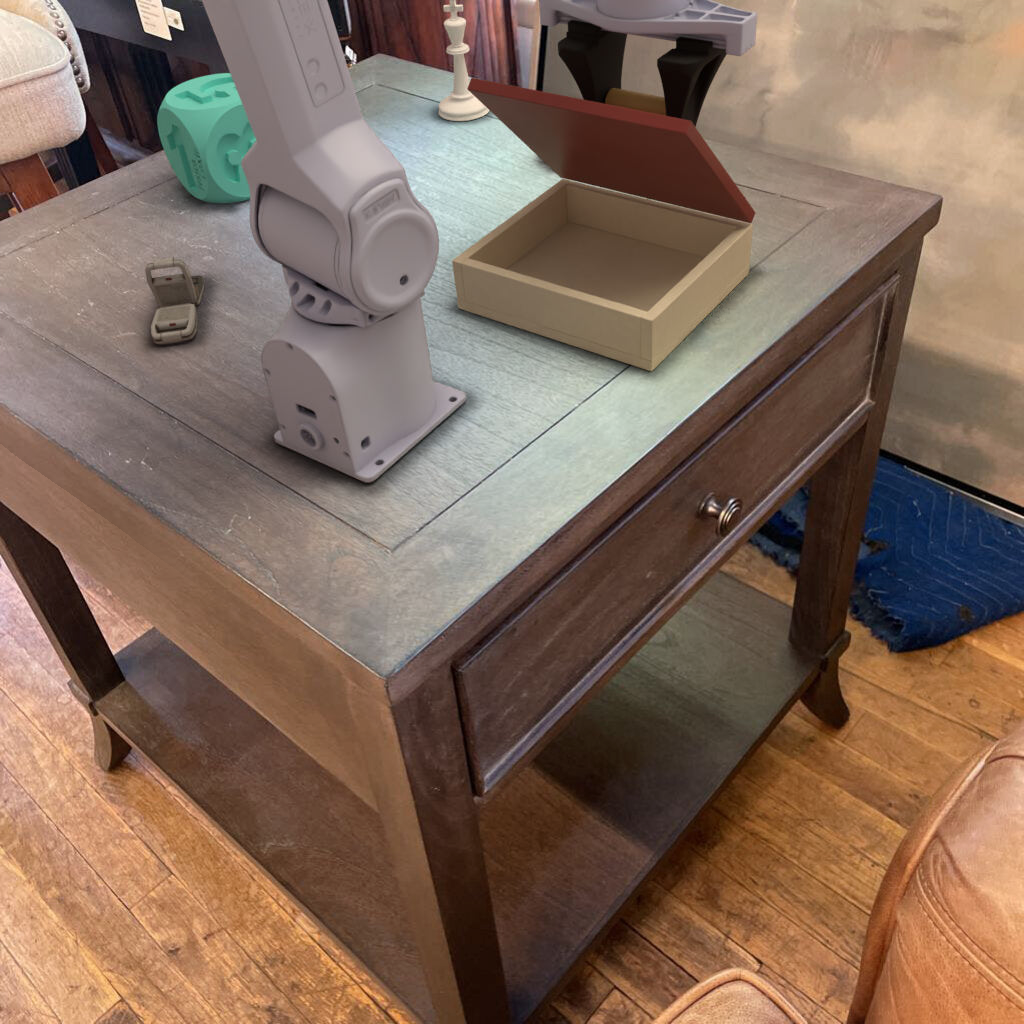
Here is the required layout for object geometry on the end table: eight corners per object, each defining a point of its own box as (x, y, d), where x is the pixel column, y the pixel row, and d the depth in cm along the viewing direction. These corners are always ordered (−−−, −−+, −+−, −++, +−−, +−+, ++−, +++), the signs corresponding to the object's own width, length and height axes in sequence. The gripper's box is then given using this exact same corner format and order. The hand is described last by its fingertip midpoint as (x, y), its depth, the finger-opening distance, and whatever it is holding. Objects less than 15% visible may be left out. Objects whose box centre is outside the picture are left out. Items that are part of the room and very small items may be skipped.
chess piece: (484, 121, 99) (473, 7, 92) (432, 121, 100) (417, 8, 93) (495, 99, 102) (485, -12, 95) (445, 99, 103) (432, -11, 96)
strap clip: (195, 342, 75) (178, 289, 72) (152, 348, 75) (133, 295, 72) (206, 280, 81) (190, 229, 78) (166, 285, 81) (148, 234, 78)
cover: (685, 133, 60) (718, 50, 60) (466, 89, 68) (494, 14, 67) (751, 223, 73) (778, 155, 72) (560, 177, 80) (584, 115, 80)
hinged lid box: (651, 372, 68) (652, 320, 65) (457, 308, 75) (451, 260, 73) (749, 273, 76) (753, 224, 73) (564, 224, 83) (562, 178, 80)
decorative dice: (173, 185, 94) (145, 94, 88) (252, 154, 97) (229, 64, 92) (218, 213, 89) (191, 119, 84) (299, 180, 93) (278, 87, 87)
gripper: (786, -85, 62) (768, 141, 72) (577, -103, 69) (585, 105, 78) (730, -48, 58) (718, 185, 68) (513, -72, 65) (530, 143, 74)
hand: (643, 145), depth 73 cm, fingers closed on cover, 5 cm apart
